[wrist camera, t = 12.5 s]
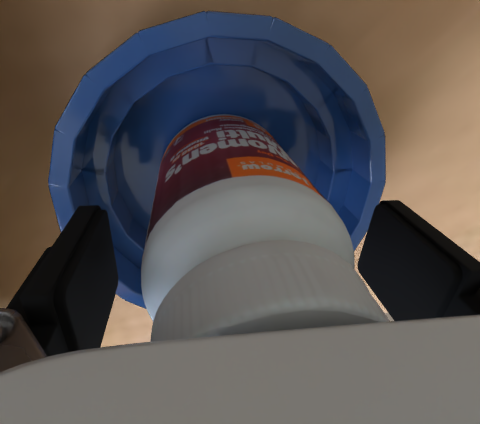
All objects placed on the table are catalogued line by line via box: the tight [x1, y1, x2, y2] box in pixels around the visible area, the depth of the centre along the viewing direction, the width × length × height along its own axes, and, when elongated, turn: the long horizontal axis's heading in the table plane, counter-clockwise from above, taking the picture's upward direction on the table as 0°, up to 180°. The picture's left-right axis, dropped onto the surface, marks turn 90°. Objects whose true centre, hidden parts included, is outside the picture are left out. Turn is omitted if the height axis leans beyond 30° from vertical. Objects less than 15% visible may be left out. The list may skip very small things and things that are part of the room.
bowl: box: [48, 11, 386, 309], centre depth 14 cm, size 13×13×4 cm
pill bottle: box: [141, 114, 390, 342], centre depth 11 cm, size 6×6×11 cm
